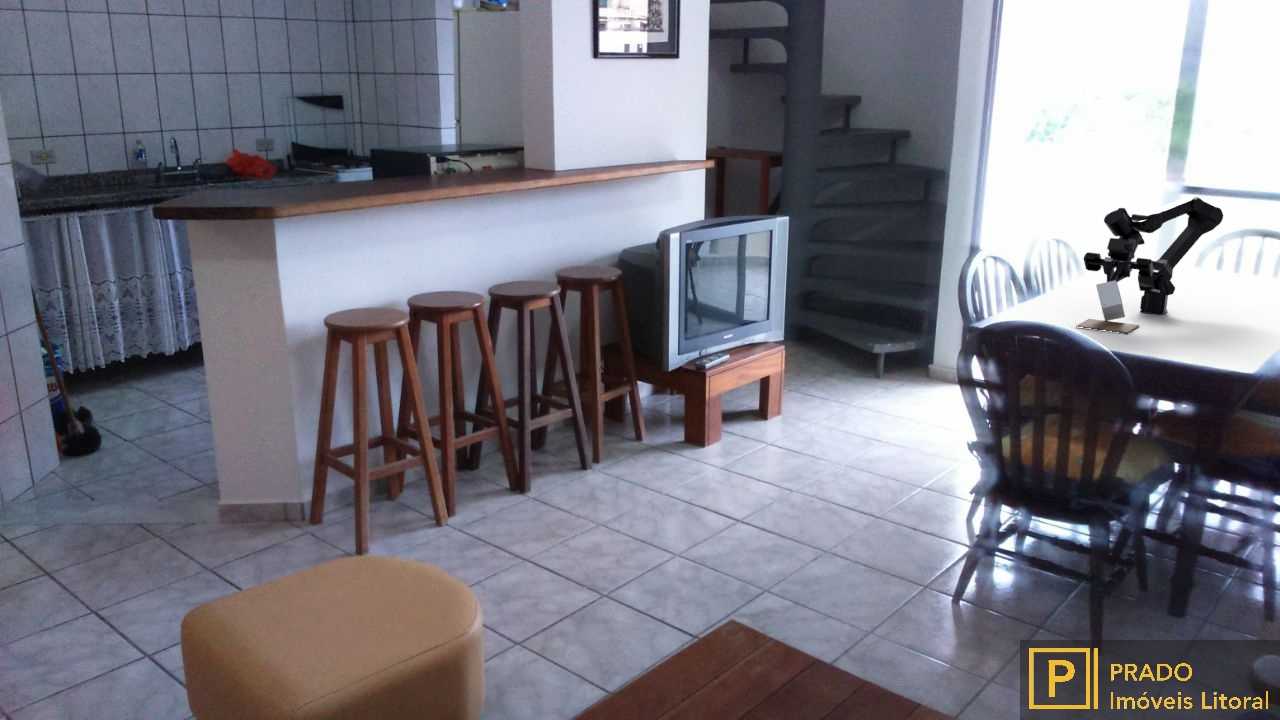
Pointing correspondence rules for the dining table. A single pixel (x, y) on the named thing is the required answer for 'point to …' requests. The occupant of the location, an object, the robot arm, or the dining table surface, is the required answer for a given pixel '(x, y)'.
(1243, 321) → the dining table surface
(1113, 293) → the small box
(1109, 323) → the walnut board
